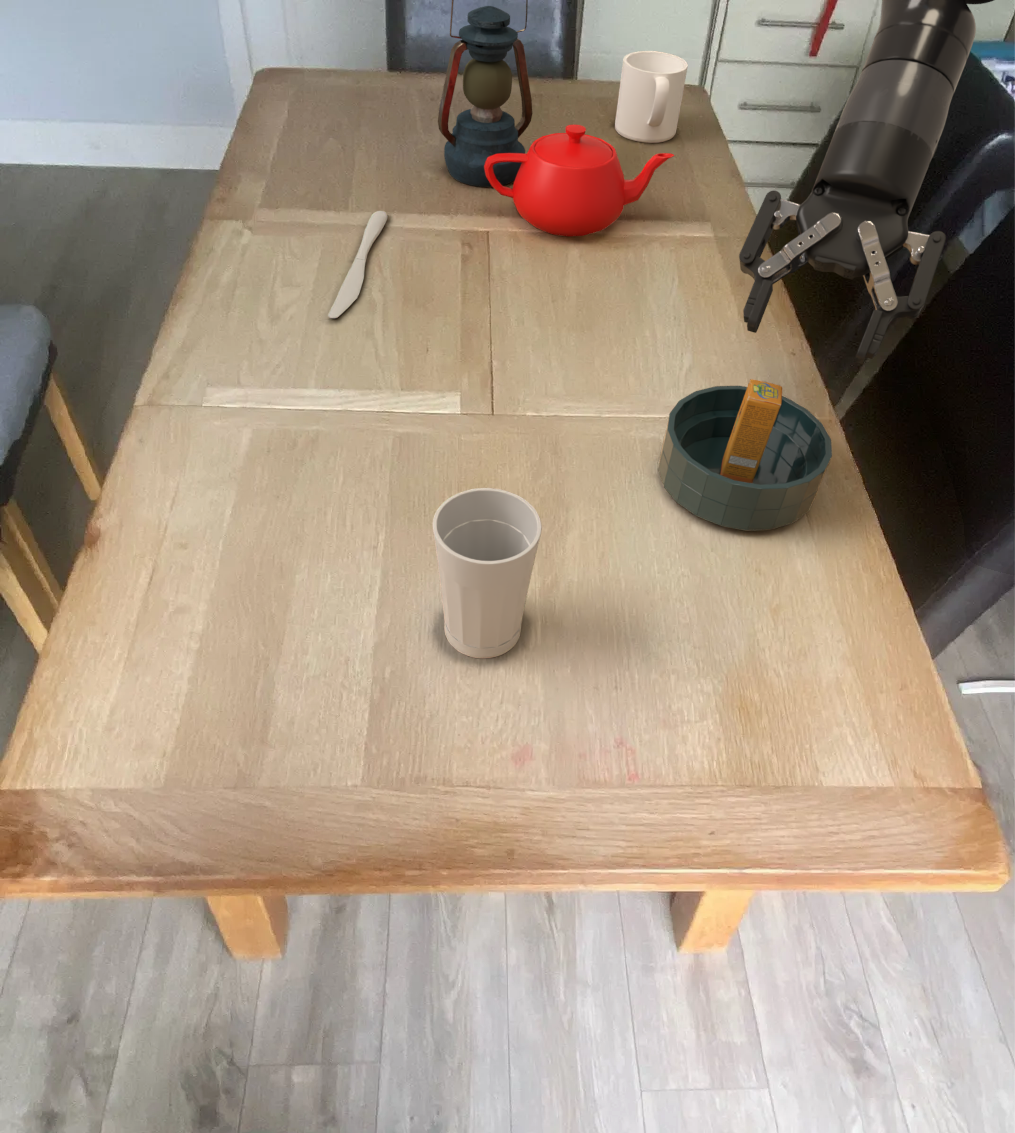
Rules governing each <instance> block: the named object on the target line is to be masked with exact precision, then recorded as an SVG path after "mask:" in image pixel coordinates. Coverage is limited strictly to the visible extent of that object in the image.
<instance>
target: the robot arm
mask: <svg viewBox="0 0 1015 1133" xmlns="http://www.w3.org/2000/svg"><path fill="white" fill-rule="evenodd" d="M994 1H995V0H881V4H880V17H879V25H878V27H877V30H876V33H875V35H874V38H873V41H872V43H871V47H870V49H869V51H868V53H867V57H866V59H865V62H864V64H863V67H862V70H861V72H860V74H859V77H858V79H857V81H856V83H855V85H854V86H853V88H852V90H851V92H850V94H849V95H848V98H847V100H846V102H845V105H844V107H843V109H842V112H841V114H840V117H839V120H838V122H837V124H836V127H835V129H834V132H833V135H832V137H831V140H830V142H829V145H828V147H827V150H826V153H825V156H824V158H823V160H822V163H821V166H820V169H819V171H818V173H817V176H816V178H815V182H814V184H813V187H812V189H811V192H810V194H809V195H808V196H807V198H806V199H805V200H804V201H803V202H802V203H796V202H793V201H790V200H788V199H783V198H782V195H781V192H779V191H778V190H770V191H768V192H767V193H766V195H765V196H764V199H763V200H762V202H761V205H760V208H759V210H758V212H757V214H756V216H755V219H754V220H753V223H752V226H751V227H750V229H749V232H748V234H747V236H746V238H745V241H744V243H743V245H742V248H741V250H740V252H739V255H738V260H739V268H740V271H741V272H742V273H743V274H745V275H748V276H750V277H751V278H752V279H753V280H754V281H753V283H752V287H751V289H750V291H749V294H748V297H747V300H746V301H745V302H746V303H745V305H744V306H743V314H742V315H743V322H744V323H746V331H748V332H751V333H754V334H757V333H758V330H759V328H760V326H761V322H762V320H763V317H764V314H765V312H766V309H767V307H768V305H769V302H770V299H771V297H772V295H773V292H774V284H776V283H778V282H779V281H781V280H782V279H783V278H785V277H786V276H787V275H789V274H794V273H795V272H797V271H798V270H799V269H801V268H802V267H804V266H805V265H807V264H809V265H810V266H812V267H813V270H815V271H818V272H823V273H835V274H836V275H838V276H840V277H842V278H843V279H844V278H845V279H847V280H848V279H849V280H851V281H853V280H854V278H861V277H863V280H864V283H865V286H866V289H867V291H868V294H869V295H870V297H871V300H872V303H873V306H874V308H873V310H872V314H871V316H870V319H869V321H868V324H867V325H866V329H865V332H864V334H863V337H862V339H861V341H860V343H859V347H858V348H857V351H856V354H855V356H854V359H853V360H854V361H853V362H854V363H855V364H859V365H863V364H864V362H865V360H866V359H869V360H873V359H874V358H875V357H876V356H877V355H878V352H879V350H880V347H881V345H882V342H883V340H884V337H885V335H886V332H887V330H888V327H889V326H890V323H891V322H892V321H893V320H895V319H899V318H907V319H910V320H914V319H916V318H918V317H919V316H920V314H921V313H922V310H923V308H924V306H925V304H926V301H927V298H928V295H929V292H930V289H931V286H932V283H933V280H934V278H935V274H936V271H937V267H938V264H939V262H940V259H941V256H942V252H943V249H944V246H945V243H946V242H947V241H946V240H947V235H946V234H945V233H944V232H943V231H941V230H935V231H932V232H931V233H930V234H927V233H921V232H916V231H910V230H909V226H908V225H909V224H908V221H909V217H910V215H911V212H912V210H913V207H914V204H915V202H916V199H917V197H918V195H919V192H920V190H921V187H922V184H923V182H924V180H925V178H926V177H925V176H926V173H927V172H928V169H929V166H930V164H931V161H932V159H933V158H934V156H935V154H936V152H937V150H938V145H939V141H940V139H941V136H942V134H943V131H944V128H945V126H946V122H947V118H948V114H949V110H950V105H951V102H952V99H953V96H954V94H955V92H956V89H957V86H958V85H959V81H960V79H961V77H962V75H963V71H964V69H965V67H966V63H967V61H968V58H969V56H970V53H971V50H972V47H973V44H974V41H975V37H976V33H977V26H976V20H975V16H974V14H973V12H972V10H971V9H970V7H969V5H982V4H988V3H991V2H994ZM789 221H795V226H796V229H797V233H798V235H797V236H796V237H795V238H793V239H792V240H790V241H789V242H787V243H786V244H785V245H784V246H783V247H782V248H781V249H780V251H778V252H776V253H775V254H774V255H772V256H770V257H769V258H767V259H766V260H764V259H763V258H762V254H763V252H764V250H765V248H766V245H767V244H768V242H769V240H770V237H771V235H772V232H773V230H781V229H782V228H783V227H785V224H786V223H788V222H789ZM903 248H905V249H906V250H908V252H909V254H910V255H909V261H910V263H911V264H912V265H914V266H917V268H916V271H915V274H914V278H913V280H912V284H911V287H910V290H909V293H908V295H897V294H896V292H895V289H894V285H893V283H892V279H891V273H890V269H889V266H888V263H887V261H888V260H889V259H890V258H891V257H893V256H894V255H896V254H898V253H900V252H901V251H902V250H903Z"/></svg>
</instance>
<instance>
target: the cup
mask: <svg viewBox="0 0 1015 1133" xmlns="http://www.w3.org/2000/svg"><path fill="white" fill-rule="evenodd" d="M542 530H543V527H542V520H541V517H540V514H539V512H538V511H537V509H536V508H535V507H534V506H533V504H531V503H530V502H529V501H528V500H526V498H524V497H522V496H520V495H519V494H516V493H514V492H511V491H509V490H505V489H501V488H495V487H479V488H478V487H476V488H471V489H466V490H463V491H460V492H457V493H455V494H453V495H452V496H450V497H448V498H447V499H445V500H444V501H443V502H442V503H441V504H440V505H439V506H438V508H437V509H436V511H435V513H434V516H433V518H432V531H433V539H434V546H435V553H436V562H437V570H438V577H439V585H440V594H441V603H442V612H443V618H444V624H443V626H444V635H445V637H446V640H447V641H448V643H449V645H451V647H452V648H453V649H454V650H456V651H457V652H459V653H460V654H463V655H464V656H468V657H470V658H474V659H475V658H476V659H491V658H495V657H496V658H497V657H499V656H501V655H504V654H506V653H507V652H509V651H510V650H512V649H513V648H514V647H515V646H516V644H517V643H518V642H519V639H520V636H521V633H522V632H521V631H522V622H523V617H524V611H525V607H526V602H527V598H528V592H529V588H530V583H531V577H532V574H533V569H534V565H535V561H536V556H537V553H538V549H539V544H540V540H541V535H542Z"/></svg>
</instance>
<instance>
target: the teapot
mask: <svg viewBox="0 0 1015 1133" xmlns="http://www.w3.org/2000/svg"><path fill="white" fill-rule="evenodd" d="M586 131H587V128H586V127H585V126H584V125H581V124H568V125H566V126H565V132H554V133H550V134H546V135H542V136H541V137H539V138H537V139H535V140H534V141H532V143H531V145H530V146H529V148H528V151H527V152H526V153H525V154H523V153H500V154H494V155H492V156H489V157H488V158H487V160H486V162H485V165H484V169H485V175H486V177H487V179H488V181H489V182H490V184H491V186H492V187H491V188H493V189H494V190H495V191H496V192H497V193H498V194H499V195H501V196H504V197H508V198H511V199H512V201H513V204H514V206H515V208H516V211H517V212H518V214H519V215H520V216H521V218H523V220H525V221H526V222H527V223H529V224H530V225H531V226H533V227H534V228H536V229H538V230H540V231H542V232H545V233H547V234H550V235H554V236H560V237H567V238H570V237H585V236H588V235H592V234H596V233H598V232H601V231H604V230H605V229H607V228H608V227H610V226H611V225H612V224H613V223H615V222H616V221H617V220H618V219H619V218H620V216H621V214H622V213H623V211H624V206H626V205H629V204H632V203H635V202H637V201H639V200H640V198H641V197H642V195H643V194H644V192H645V190H646V189H647V188H648V186H649V184H650V182H651V180H652V177H653V175H654V173H655V171H656V170H657V169H658V168H659V167H660V166H662V165H664V163H665V162H667V161H668V160H669V159H671V158H673V157H674V156H675V154H673V153H668V152H660V153H656V154H654V155H652V156H651V157H650V159H649V160H648V161H647V162H646V163H645V164H644V167H643V168H642V170H641V171H640V173H638V175H636V176H635V177H634V178H633V179H625V175H624V172H623V168H622V165H621V162H620V160H619V155H618V153H617V150H616V148H615V147H614V146H613V145H612V144H611V143H609V142H607V141H605V140H604V139H602V138H599V137H596V136H594V135H589V134H586ZM499 162H522V164H521V166H520V168H519V171H518V173H517V176H516V178H515V180H514V181H513V184H512V188H511V187H508V186H505V185H501V184H500V182H499V181H498V180H497V179H496V177H495V174H494V171H493V165H494V164H496V163H499Z"/></svg>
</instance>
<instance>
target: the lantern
mask: <svg viewBox="0 0 1015 1133" xmlns="http://www.w3.org/2000/svg"><path fill="white" fill-rule="evenodd" d="M454 1H455V0H451V5H450V6H451V7H450V23H449V37H450V38H453V39H460V40H459V41H457V42H455V43H454V44H453V46H452V47H451V49H450V54H449V58H448V63H447V68H446V73H445V78H444V84H443V88H442V94H441V98H440V103H439V108H438V114H437V126H438V130H439V132H440V133H441V135H442V136H443V137H444V138H445V139H446V140H447V141H446V142H445V144H444V148H443V156H444V162H445V165H446V168H447V170H448V173H449V174H450V176H451V177H452V178H453V179H454V180H456V181H458V182H460V183H462V184H465V185H469V186H473V187H482V188H493V187H492V186H491V184H490V182H489V181H488V179H487V177H486V175H485V169H484V165H485V162H486V160H487V158H488V157H489V156H492V155H494V154H500V153H523V154H526V148H525V146H524V145H523V144H522V142H520V141H519V138H520V137H521V136H522V135H523V133H524V132H525V131H526V130H527V129H528V127H529V126H530V124H531V122H532V118H533V113H534V112H533V101H532V100H533V99H532V92H531V86H530V80H529V72H528V65H527V57H526V52H525V45H524V44H523V42H522V40H521V39H520V38H518V36H519V34H518V33H522V32H524V31H526V30H527V23H528V7H529V6H528V4H529V0H525V25H524V28H523V29H520V30H515V29H514V28H512V27H510V26H509V25H510V24H511V15H510V13H508V12H506V11H504V10H502V9H501V8H499V7H496V6H492V5H484V6H480V7H477V8H475V9H472V10H470V11H469V12H467V19H466V20H467V23H468V25H464V26H462V27H461V28H459V31H458V35H452V27H453V17H454V16H453V15H454ZM512 48H513V53H514V59H515V67H516V72H517V80H518V86H519V93H520V98H521V99H520V100H521V111H522V112H521V118H520V119H519V121H518V122H517V123H515V122H516V121H515V118H514V116H513V115H511V114H510V113H509V112H506V111H504V110H502V108H501V107H502V106H503V105H504V104H506V103H507V101H508V100H509V99H510V97H511V94H512V89H513V73H512V69H511V67H510V66H509V64H508V63H507V62H506V61H505V60H504V59H506V57H507V55H508V52H510V51H511V50H512ZM465 51H468V54H469V55H470V57H471V59H470V60H469V61H468V62H467V63H466V64H465V66H464V70H463V73H462V91H463V95H464V96H465V99H467V102H469V103H470V105H472V106H471V108H468V109H466V110H463V111H462V112H460V113H458V114H457V116H456V120H455V125H454V126H453V128H452V133H451V131H450V129H449V120H450V110H451V107H452V106H451V105H452V102H453V99H454V98H453V97H454V93H455V88H456V82H457V79H458V75H459V68H460V64H461V59H462V56H463V53H464V52H465ZM521 164H522V162H499V163H496V164H494V165H493V171H494V174H495V177H496V179H497V180H498V181H499V182H500V184H501V185H502V186H505V185H509V184H511V183H512V182H513V183H514V181H515V178H516V176H517V173H518V171H519V168H520V166H521Z"/></svg>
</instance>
